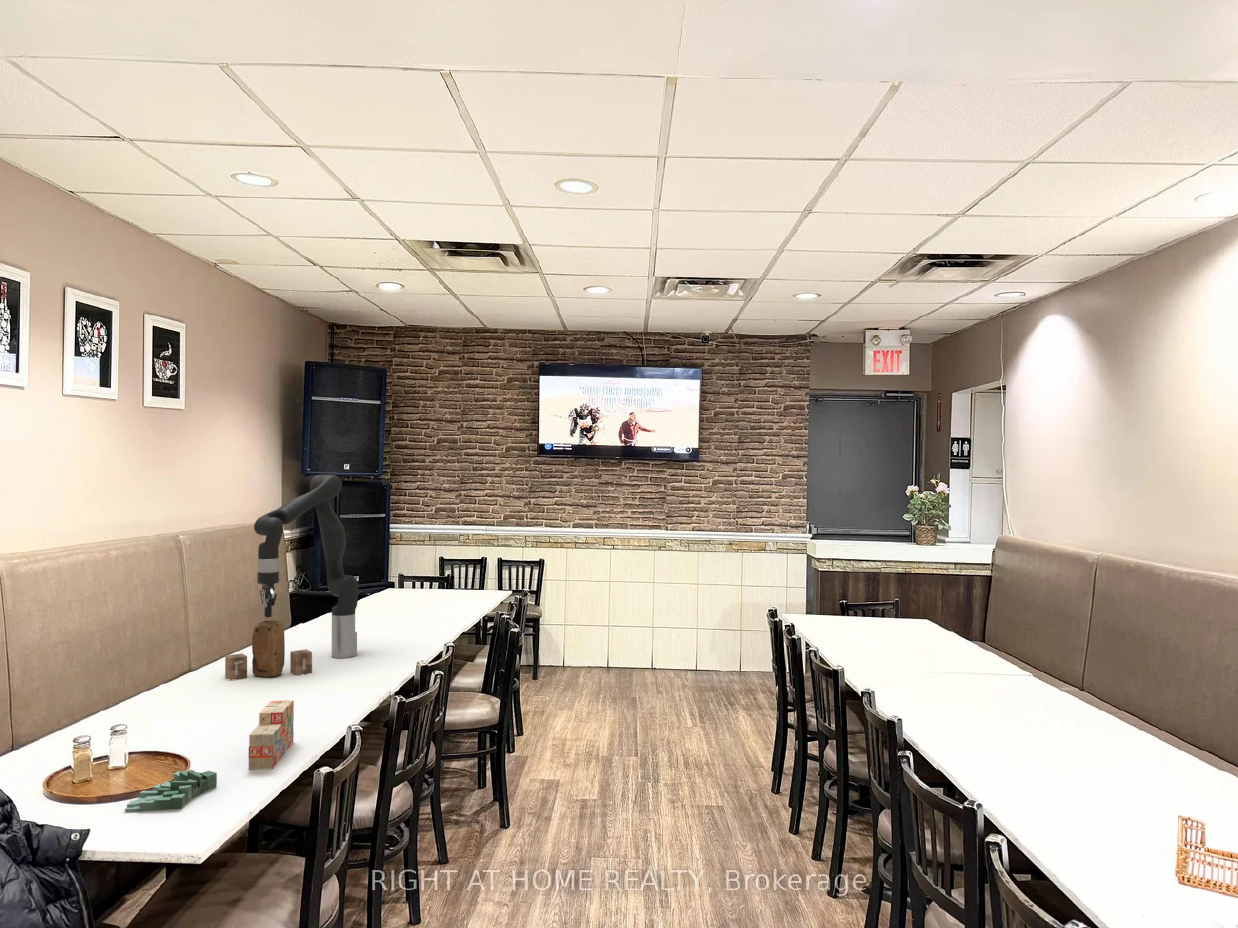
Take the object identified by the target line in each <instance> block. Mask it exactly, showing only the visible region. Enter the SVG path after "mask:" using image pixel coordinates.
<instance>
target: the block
mask: <svg viewBox="0 0 1238 928" xmlns="http://www.w3.org/2000/svg"><path fill="white" fill-rule="evenodd" d="M284 625H285V624H284V622H283V621H280V620H279V621H277V620H272V619H271V620H263V621H260V622H259V623H257V624H255V627H254V628H253V632H252V634H251V649H252V650H251V651H252V660H251V663H252V664H251V665H252V674H253V675H254V676H258V677H264V678H274V677H278V676H280V675H281V674H282V672H283V670H284V666H285V656H286V655H285V653H286V652H285V650H286V649H285V648H286V647H285V646H286V644H285V641H286V640H285V639H286V638H285V626H284Z"/></svg>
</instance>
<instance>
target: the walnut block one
mask: <svg viewBox="0 0 1238 928" xmlns="http://www.w3.org/2000/svg"><path fill="white" fill-rule="evenodd" d="M289 658H290V659H289V660H290V665H289V666H290V667H289V668H290V669H289V670H290V672H291V674H292V673H293V674H292V675H294V676H295V675H297V676H302V675H301V674H304V675H309V674H308V673H310V674H313V652H312V651H310V650H308V649H307V648H306V649H299V650H293V651H292V650H291V651H290V657H289Z"/></svg>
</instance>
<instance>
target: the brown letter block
mask: <svg viewBox="0 0 1238 928" xmlns="http://www.w3.org/2000/svg"><path fill="white" fill-rule="evenodd" d="M224 660H225V662H224V663H225V665H224V669H225V672H224V675H225V676H224V677H225V679H227V680H228V679H230V680H229V681H232V680H231V679H236V680H243V679H247V678H248V656H247V655H246V654H244V653H243V652H242V653H233V654H228V655H227V654H226V655H225V657H224Z"/></svg>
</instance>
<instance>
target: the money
mask: <svg viewBox="0 0 1238 928" xmlns="http://www.w3.org/2000/svg"><path fill="white" fill-rule="evenodd" d="M173 779H175V781H171V780H170V781H171V782H168V781H166V782H164V784H161V785H160V783H159V784H156V785H154V786H153V787H152V790H153V789H155V790H153V791H151V790H141V792H139V797H138V798H136V799H135V800H130V801H129V802H128V803H126V808H124V811H125V812H126V813H137V812H144V811H145V812H150V811H151V812H154V811H168V810H182V809H183V808H184V807H185V806H186V804H188V803H189V802H191V801H192V800H193V799H196V797H198V796H200V795H202V794H205V793H207V792H208V791H210V790H213V789H216V788H217V786H218V785H217V783H218V782H217V781H218V780H217V779H218V772H216V771H212V770H206V771H203V772H200V771H195V770H193V769H189V770H187V771H186V770H182V771H180V770H179V771H177V772H174V773H173Z"/></svg>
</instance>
